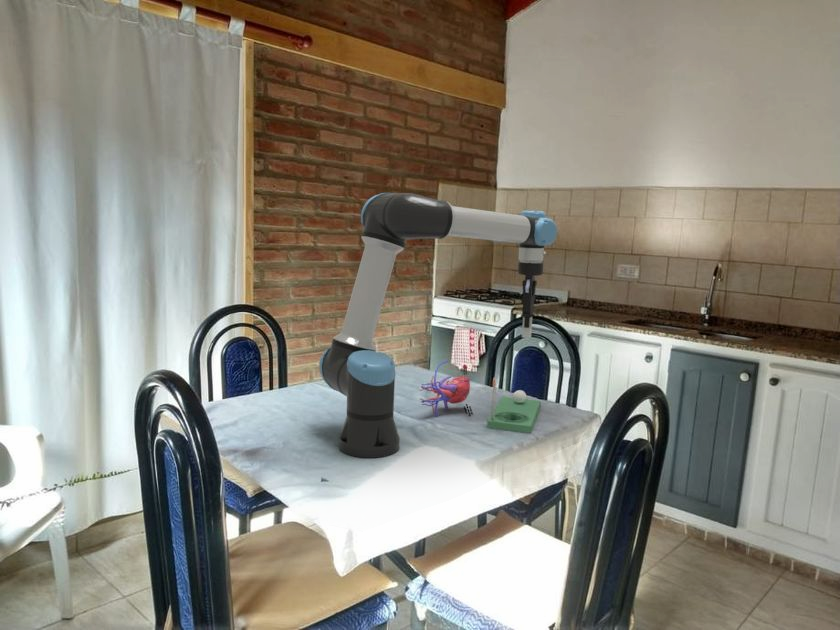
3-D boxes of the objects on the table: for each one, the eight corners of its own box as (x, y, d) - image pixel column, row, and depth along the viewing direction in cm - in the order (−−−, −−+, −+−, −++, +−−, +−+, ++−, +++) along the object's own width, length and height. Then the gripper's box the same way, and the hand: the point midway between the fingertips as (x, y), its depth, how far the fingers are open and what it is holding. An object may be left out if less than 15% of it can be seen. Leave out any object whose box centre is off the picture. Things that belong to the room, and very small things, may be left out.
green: (529, 434, 175) (533, 384, 173) (486, 429, 178) (488, 379, 176) (540, 407, 201) (543, 363, 198) (502, 402, 204) (504, 359, 202)
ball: (525, 405, 195) (525, 392, 194) (511, 404, 196) (512, 391, 195) (526, 402, 199) (527, 389, 198) (513, 400, 200) (514, 388, 199)
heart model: (483, 416, 193) (438, 416, 179) (459, 416, 200) (414, 417, 186) (481, 359, 196) (437, 356, 182) (457, 362, 203) (413, 358, 189)
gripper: (541, 263, 190) (536, 342, 194) (545, 261, 202) (540, 334, 206) (515, 262, 192) (511, 340, 196) (521, 259, 204) (517, 332, 208)
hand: (526, 337), depth 201 cm, fingers closed
